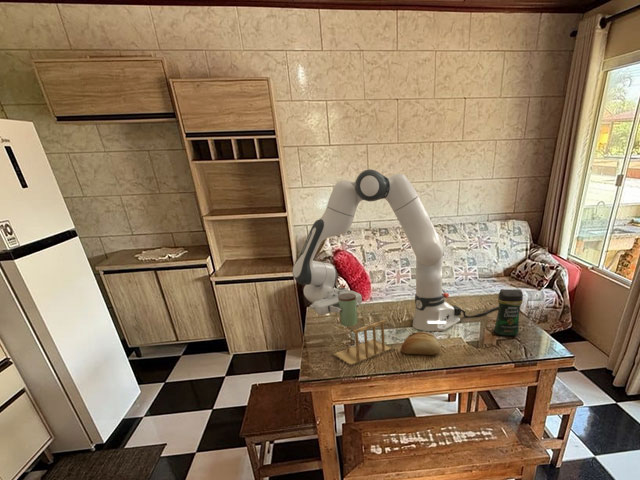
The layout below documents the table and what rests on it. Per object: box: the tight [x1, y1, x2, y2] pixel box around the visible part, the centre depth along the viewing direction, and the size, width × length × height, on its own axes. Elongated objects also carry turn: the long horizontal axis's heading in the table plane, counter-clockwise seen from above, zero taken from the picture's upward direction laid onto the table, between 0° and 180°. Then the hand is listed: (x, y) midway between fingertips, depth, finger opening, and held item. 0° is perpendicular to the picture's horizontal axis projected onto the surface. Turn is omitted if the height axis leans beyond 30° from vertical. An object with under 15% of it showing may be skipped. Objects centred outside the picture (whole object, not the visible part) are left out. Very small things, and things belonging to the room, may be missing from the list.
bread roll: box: [400, 331, 442, 356], centre depth 155 cm, size 10×15×8 cm, turn 87°
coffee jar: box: [494, 288, 524, 337], centre depth 166 cm, size 10×8×19 cm
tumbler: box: [338, 293, 359, 327], centre depth 158 cm, size 7×7×11 cm
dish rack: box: [333, 319, 392, 365], centre depth 156 cm, size 20×12×13 cm, turn 130°
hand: (349, 308), depth 157 cm, fingers closed on tumbler, 7 cm apart
